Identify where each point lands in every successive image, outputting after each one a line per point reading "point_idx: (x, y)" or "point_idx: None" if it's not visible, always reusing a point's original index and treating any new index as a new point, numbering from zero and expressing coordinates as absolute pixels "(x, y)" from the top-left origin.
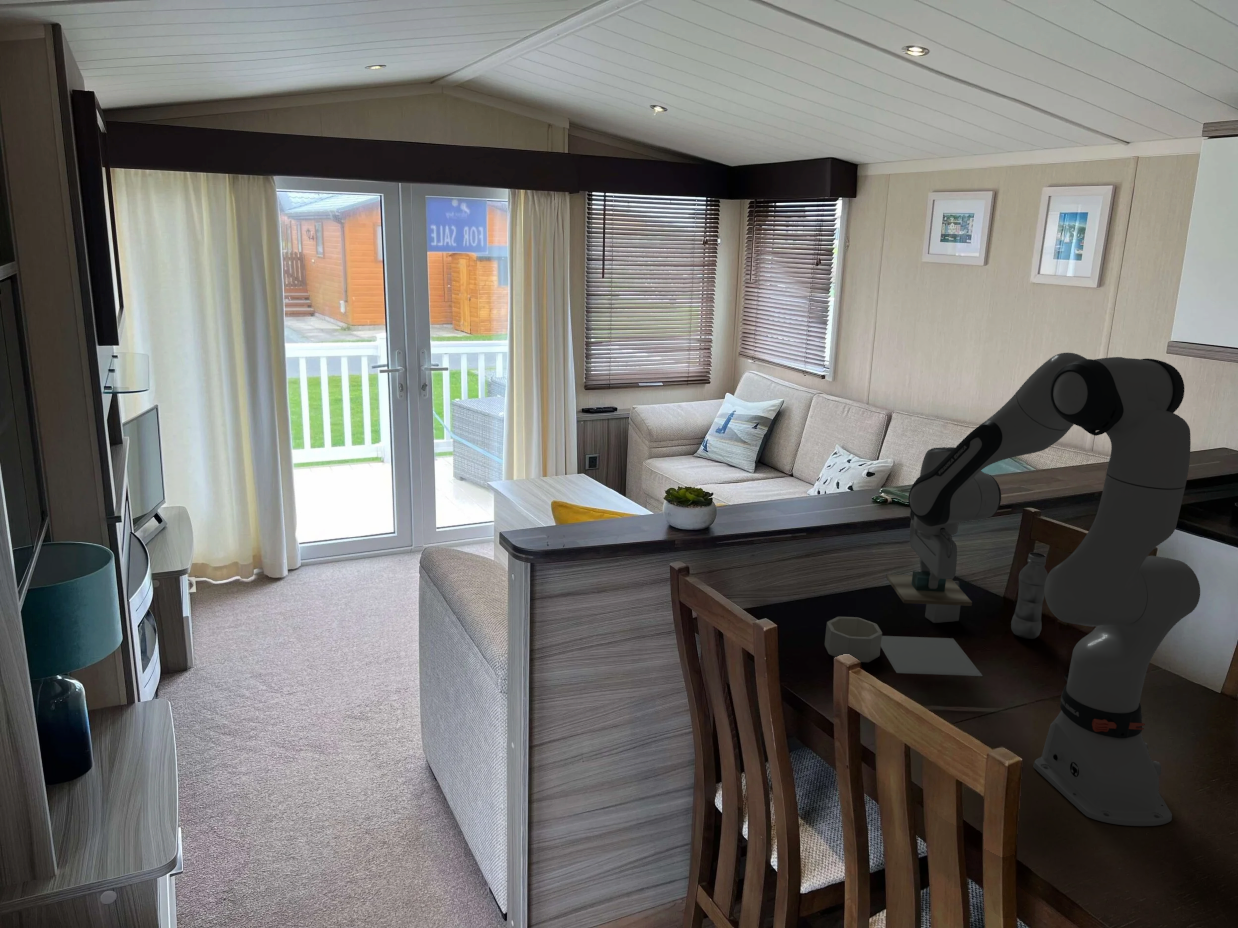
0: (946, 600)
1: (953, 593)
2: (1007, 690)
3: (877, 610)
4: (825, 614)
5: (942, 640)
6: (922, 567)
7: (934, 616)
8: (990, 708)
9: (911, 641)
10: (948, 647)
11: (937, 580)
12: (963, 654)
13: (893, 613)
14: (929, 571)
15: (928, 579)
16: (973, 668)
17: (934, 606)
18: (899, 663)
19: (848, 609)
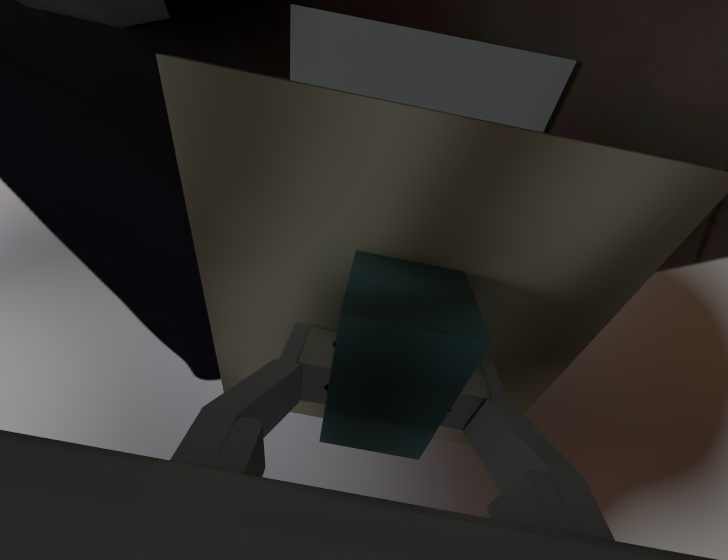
0: (590, 326)
1: (516, 230)
2: (685, 5)
3: (115, 170)
4: (185, 295)
5: (309, 66)
6: (282, 413)
7: (145, 10)
8: (717, 150)
9: None
10: (362, 74)
11: (514, 415)
12: (417, 41)
13: (118, 129)
14: (313, 369)
15: (453, 424)
16: (519, 65)
17: (104, 2)
18: None
19: (139, 241)
